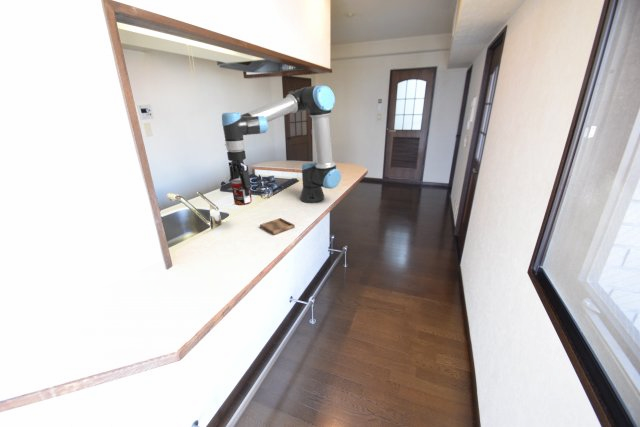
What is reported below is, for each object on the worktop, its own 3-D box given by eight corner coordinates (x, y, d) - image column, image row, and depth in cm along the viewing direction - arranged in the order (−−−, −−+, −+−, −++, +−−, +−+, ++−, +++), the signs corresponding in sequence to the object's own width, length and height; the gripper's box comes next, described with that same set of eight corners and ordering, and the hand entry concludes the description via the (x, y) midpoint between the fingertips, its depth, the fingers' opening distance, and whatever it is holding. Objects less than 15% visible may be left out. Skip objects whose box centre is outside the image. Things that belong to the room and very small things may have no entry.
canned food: (231, 204, 125) (227, 181, 121) (243, 199, 132) (239, 177, 128) (243, 206, 122) (240, 182, 118) (255, 201, 128) (252, 178, 124)
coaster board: (280, 220, 141) (280, 218, 140) (294, 227, 132) (294, 224, 132) (260, 227, 133) (259, 224, 133) (273, 235, 125) (273, 232, 124)
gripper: (217, 149, 123) (225, 197, 131) (239, 154, 108) (246, 207, 117) (233, 147, 127) (240, 193, 136) (255, 151, 113) (261, 203, 122)
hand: (243, 200), depth 126 cm, fingers closed on canned food, 8 cm apart
